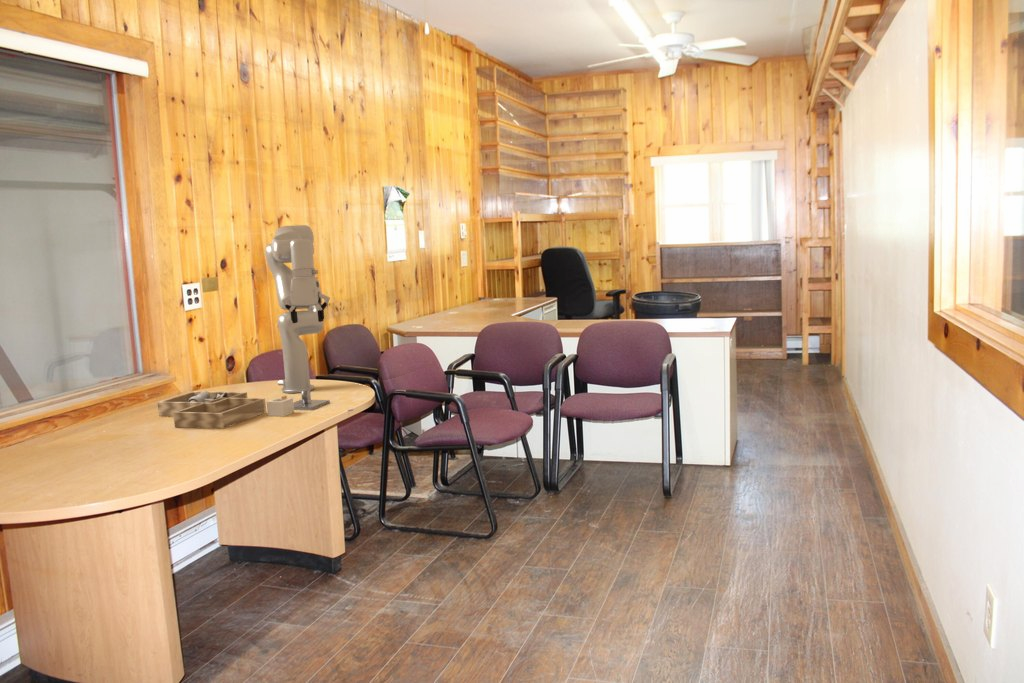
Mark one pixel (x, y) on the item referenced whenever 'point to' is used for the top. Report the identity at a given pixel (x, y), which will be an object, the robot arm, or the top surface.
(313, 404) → the plate
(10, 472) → the top surface
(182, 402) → the tray
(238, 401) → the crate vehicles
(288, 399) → the grey block
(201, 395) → the clip-on lamp
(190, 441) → the top surface
